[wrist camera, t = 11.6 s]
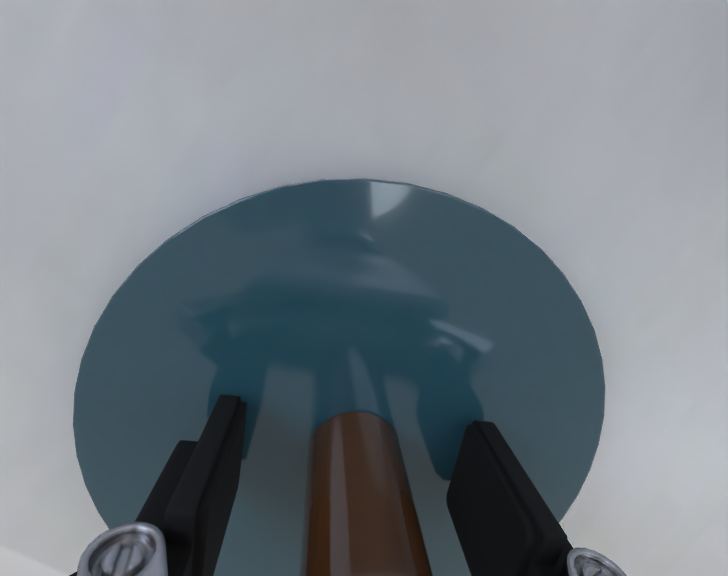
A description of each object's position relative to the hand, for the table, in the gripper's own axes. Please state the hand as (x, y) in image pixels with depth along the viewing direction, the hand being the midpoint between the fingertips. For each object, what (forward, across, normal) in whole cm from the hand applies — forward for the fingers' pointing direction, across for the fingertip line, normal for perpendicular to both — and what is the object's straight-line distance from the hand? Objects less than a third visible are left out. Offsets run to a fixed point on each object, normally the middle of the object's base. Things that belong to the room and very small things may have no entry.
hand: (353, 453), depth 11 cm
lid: (+1, 0, 0) cm, 1 cm away
